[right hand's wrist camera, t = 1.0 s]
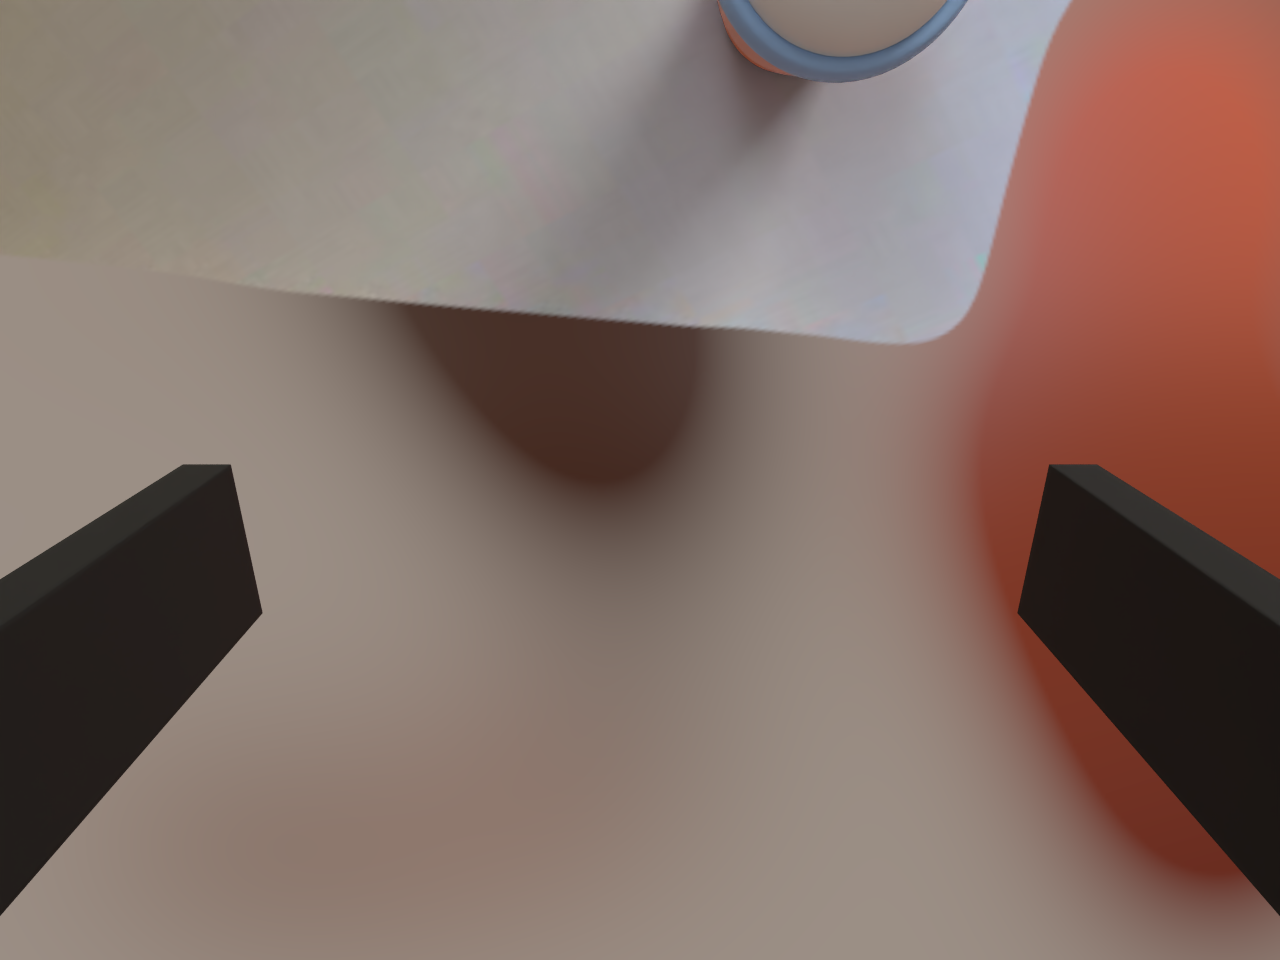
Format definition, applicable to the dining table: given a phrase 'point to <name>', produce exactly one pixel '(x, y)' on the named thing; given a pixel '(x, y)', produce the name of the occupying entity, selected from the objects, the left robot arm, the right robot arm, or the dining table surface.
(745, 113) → the dining table surface
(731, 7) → the cup with straw
